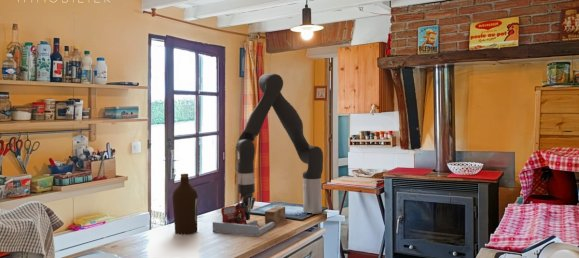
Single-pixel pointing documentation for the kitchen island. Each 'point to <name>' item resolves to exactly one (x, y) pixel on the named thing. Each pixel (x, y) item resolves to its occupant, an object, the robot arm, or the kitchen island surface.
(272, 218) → the wing block
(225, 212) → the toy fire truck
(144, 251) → the kitchen island surface
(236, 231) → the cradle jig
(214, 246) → the kitchen island surface
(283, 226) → the kitchen island surface
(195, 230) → the olive oil
